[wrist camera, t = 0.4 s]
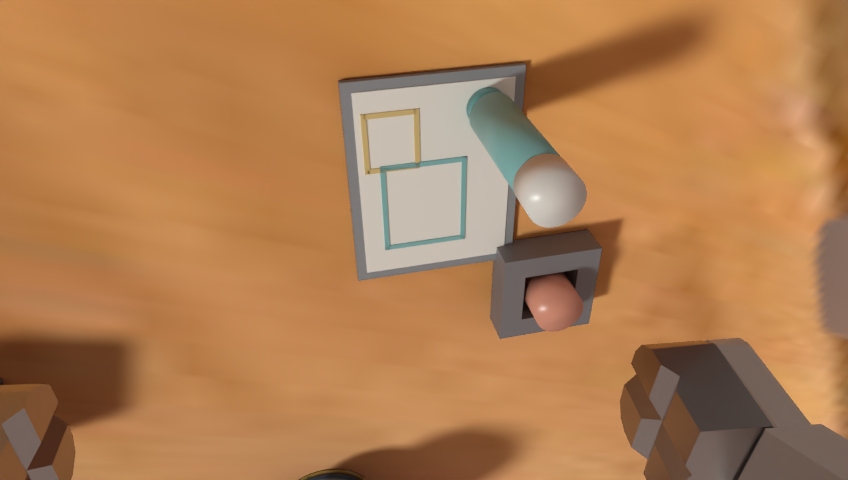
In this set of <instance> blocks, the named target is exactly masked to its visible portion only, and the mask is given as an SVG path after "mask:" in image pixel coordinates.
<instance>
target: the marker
mask: <svg viewBox="0 0 848 480" xmlns="http://www.w3.org/2000/svg"><path fill="white" fill-rule="evenodd" d="M466 112H467V116H468V118H469V122H470V125H471V127H472V129H473V131H474V132H475V134H476V135H477V137H478V138H479V140H480V141H481V143H482V144H483V146H484V147H485V149H486V150H487V152H488V153H489V155H490V156H491V158H492V160H493V161H494V163H495V164H496V166H497V167H498V169H499V170H500V172H501V173H502V175H503V176H504V178H505V179H506V181H507V182H508V184H509V185H510V187H511V188H512V190H513V191H514V194H515V196H516V197H517V199H518V200H519V202H520V203H521V205H522V207H523V208H524V210H525V211H526V213H527V214H528V216H529V217H530V219H531V220H532V221H533V222H534V223H535V224H537V225H539V226H542V227H557V226H561V225H563V224H565V223H567V222H569V221H570V220H572V219H573V218H574V217H575V216H576V215H577V214H578V213H579V212H580V211H581V209H582V208H583V206H584V204H585V201H586V196H587V191H586V187H585V184H584V183H583V181H582V180H581V179H580V178H579V176H578V175H577V174H576V173H575V172H574V171H573V169H572V168H571V167H570V166H569V165H568V164H567V162H566V161H565V160H564V159H563V158H562V157H560V155H559V154H558V153H557V152H556V151H555V150H554V148H553V147H552V146H551V145H550V144H549V143H548V141H547V140H546V139H545V138H544V137H543V135H542V134H541V133H540V132H539V131H538V130H537V128H536V127H535V126H534V125H533V124H532V123H531V121H530V120H529V119H528V118H527V117H526V116H525V114H524V113H523V112H522V111H521V110H520V108H519V107H518V106H517V105H516V104H515V103H514V101H513V100H512V99H511V98H510V97H509V96H508V95H506V94H504V93H502V92H501V91H500V90H499V89H497V88H493V87H485V88H482V89H480V90H478V91H476V92H475V93H474V94H473V95H472V96H471V97H470V99H469V101H468V103H467V107H466Z"/></svg>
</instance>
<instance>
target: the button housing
mask: <svg viewBox="0 0 848 480" xmlns="http://www.w3.org/2000/svg"><path fill="white" fill-rule="evenodd" d="M601 253H602V247H601V246H600V245H599V243H598V242H597V241H596V239H595V238H594V237H593V236H592V234H591V233H590V232H589V230H582V231H575V232H568V233H561V234H555V235H548V236H541V237H534V238H528V239H521V240H514V241H513V242H512V244H510V245H504V246H501V247H497V250H496V260H494V262H493V279H492V297H491V314H490V318H491V320H492V323H493V325H494V327H495V329H496V331H497V334H498V336H499V338H500V339H502V338H507V337H513V336H519V335H525V334H530V333H536V332H542V331H546V330H543V329H542V328H540V327H539V325H538V324H537V322H536V320H535V318H534V316H533V314H532V313H531V311H530V309H529V307H528V305H527V303H526V301H525V300H524V289H525V278H527V277H533V276H540V275H546V274H552V273H558V272H564V273H565V275H566V277H567V278H568V280H569V281H570V283H571V284H572V286H573V287H574V289H575V290H576V292H577V293H578V295H579V296H580V298H581V300H582V301H583V306H584V307H583V312H582V314H581V316H580V317H579V319H578V320H577V321H576V322H575V323H574V324H573V325H571V326H576V325H582V324H588V323H589V319H590V314H591V308H592V303H593V297H594V291H595V286H596V280H597V275H598V269H599V264H600V258H601ZM571 326H570V327H571Z"/></svg>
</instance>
